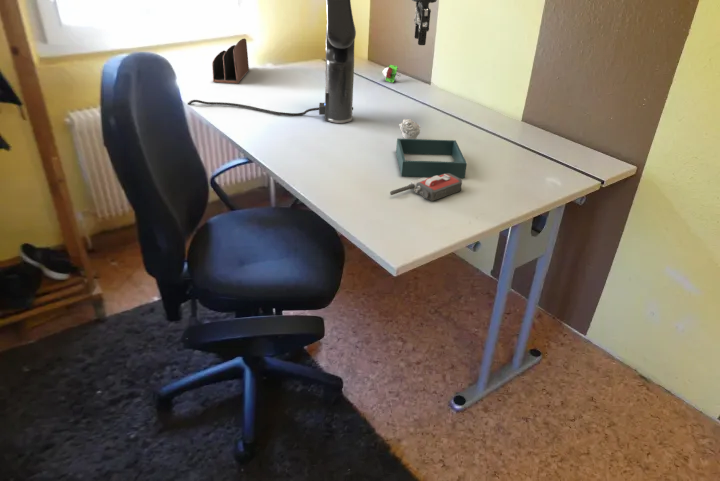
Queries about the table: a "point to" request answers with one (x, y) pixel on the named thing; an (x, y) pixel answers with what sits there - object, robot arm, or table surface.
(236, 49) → the letter holder
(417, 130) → the white rounded figurine
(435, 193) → the walkie-talkie
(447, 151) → the open box
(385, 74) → the geometric puzzle
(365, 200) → the table surface
